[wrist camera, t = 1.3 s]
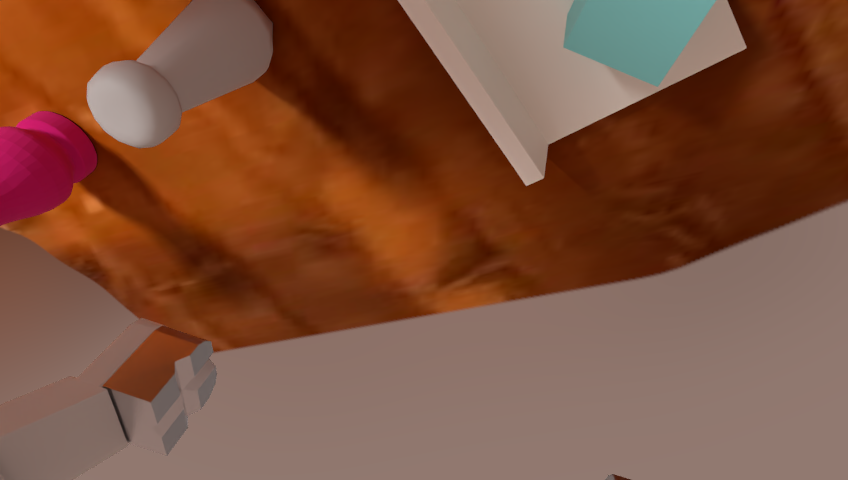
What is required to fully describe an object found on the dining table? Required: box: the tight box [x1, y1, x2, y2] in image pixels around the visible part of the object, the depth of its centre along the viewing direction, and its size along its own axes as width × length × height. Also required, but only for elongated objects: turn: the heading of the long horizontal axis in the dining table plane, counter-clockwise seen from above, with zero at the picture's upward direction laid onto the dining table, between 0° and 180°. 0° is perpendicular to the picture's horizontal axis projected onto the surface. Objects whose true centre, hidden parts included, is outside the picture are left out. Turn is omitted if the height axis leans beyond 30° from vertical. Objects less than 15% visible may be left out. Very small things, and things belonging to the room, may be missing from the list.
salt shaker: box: [87, 0, 273, 148], centre depth 31 cm, size 6×6×13 cm
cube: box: [563, 0, 716, 87], centre depth 26 cm, size 5×5×5 cm
